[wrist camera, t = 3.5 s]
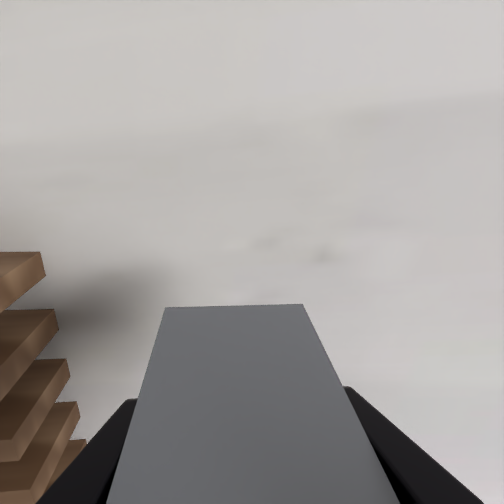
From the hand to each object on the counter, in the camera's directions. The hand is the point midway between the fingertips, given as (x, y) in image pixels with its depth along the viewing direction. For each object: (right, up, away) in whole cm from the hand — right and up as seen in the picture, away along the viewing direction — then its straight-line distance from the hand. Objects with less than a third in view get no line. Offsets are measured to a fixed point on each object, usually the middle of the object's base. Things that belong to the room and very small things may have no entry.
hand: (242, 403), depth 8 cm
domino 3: (-15, -4, +13) cm, 20 cm away
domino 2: (-15, -8, +14) cm, 22 cm away
